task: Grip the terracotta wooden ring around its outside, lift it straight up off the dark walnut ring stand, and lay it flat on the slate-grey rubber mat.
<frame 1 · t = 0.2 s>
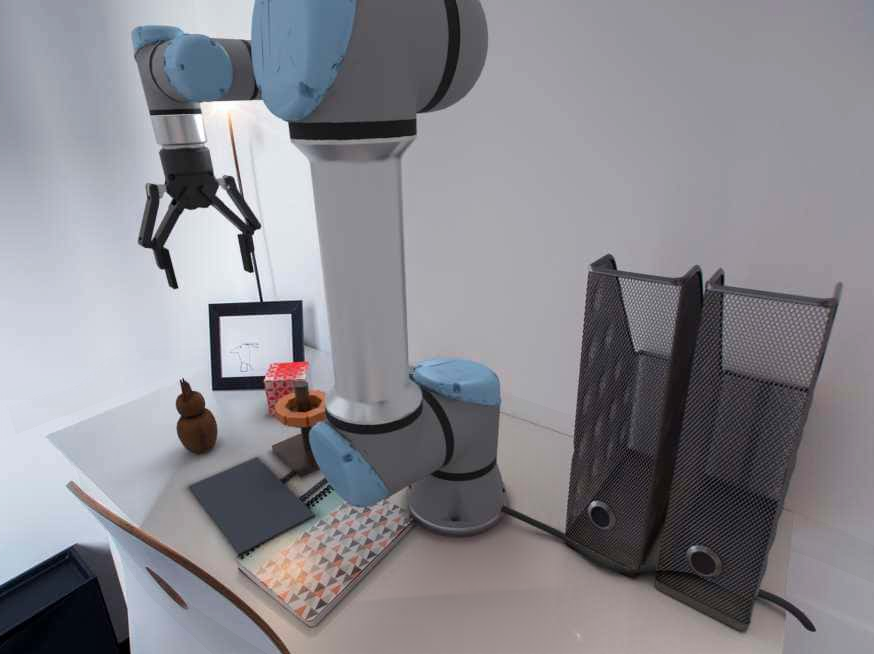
hand: (212, 279, 94), 28 cm above the table, tool pointing down, fingers open, 13 cm apart
red patterned cube: (293, 405, 110), on the table
ring stand: (311, 453, 94), on the table
mat: (249, 501, 83), on the table
wooden figurine: (203, 448, 97), on the table
ring: (305, 412, 90), point 8 cm above the table, touching ring stand
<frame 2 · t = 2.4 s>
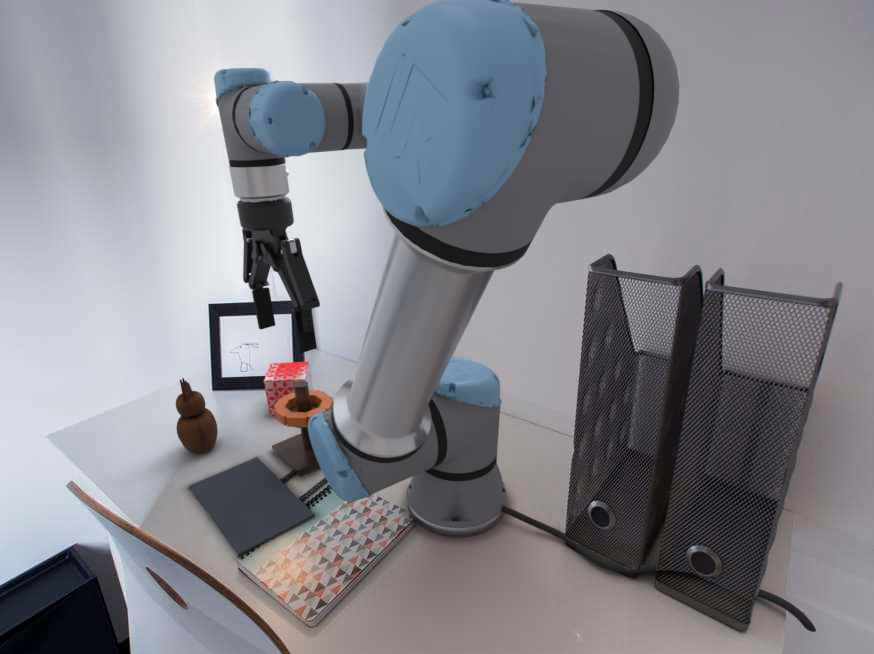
hand: (286, 338, 85), 22 cm above the table, tool pointing down, fingers open, 13 cm apart
nothing on the table moved.
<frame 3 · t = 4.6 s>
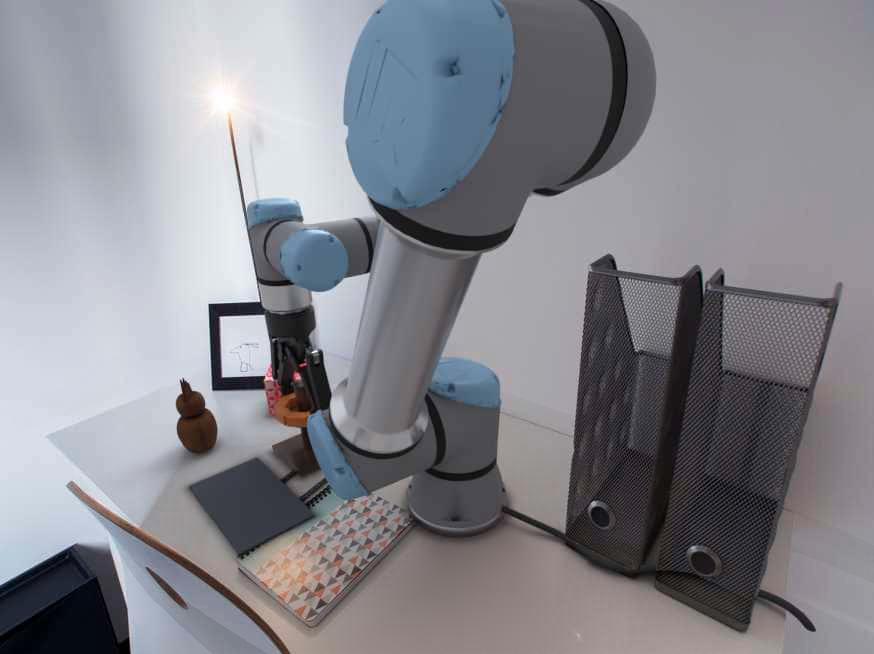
hand: (307, 429, 92), 5 cm above the table, tool pointing down, fingers closed on ring, 9 cm apart
ring: (305, 412, 90), point 9 cm above the table, touching gripper, ring stand
everything else where it was.
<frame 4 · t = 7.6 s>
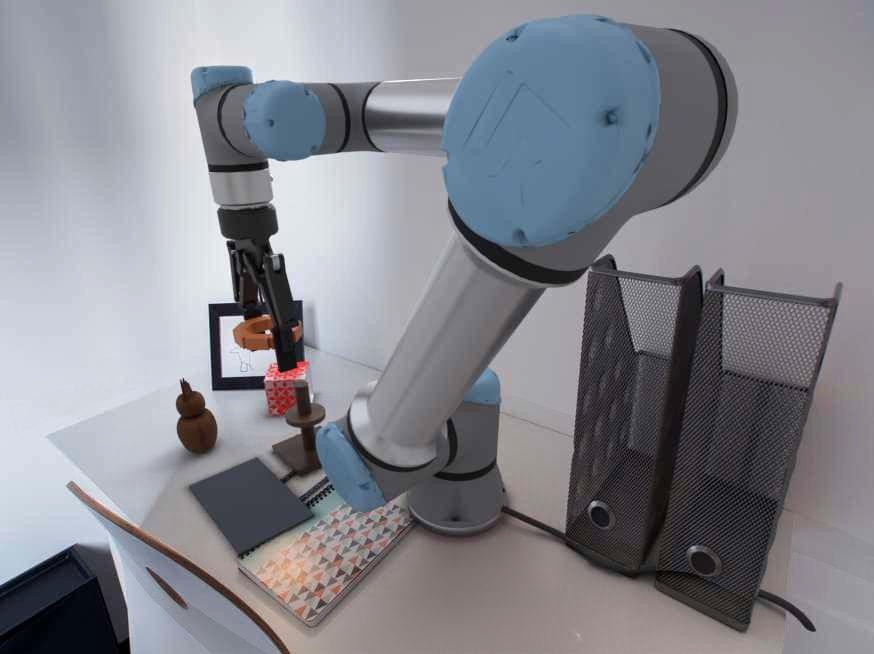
hand: (273, 358, 81), 21 cm above the table, tool pointing down, fingers closed on ring, 9 cm apart
ring: (269, 337, 79), point 24 cm above the table, touching gripper
everything else where it was.
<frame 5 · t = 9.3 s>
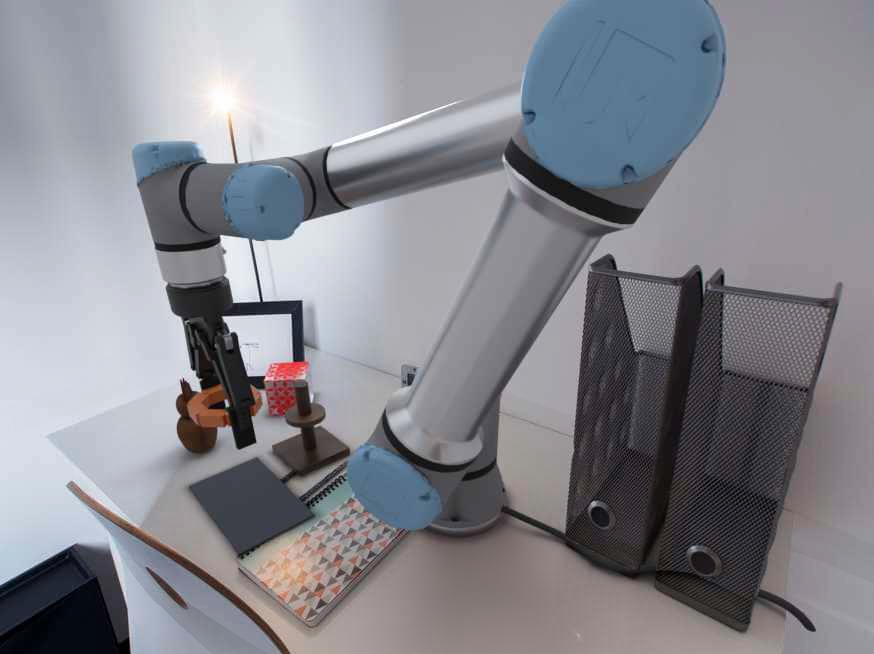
hand: (231, 430, 77), 13 cm above the table, tool pointing down, fingers closed on ring, 9 cm apart
ring: (227, 409, 75), point 17 cm above the table, touching gripper
everything else where it was.
when the fingers open (1 cm above the table, at t = 10.8 s): ring drops 5 cm, resting on mat.
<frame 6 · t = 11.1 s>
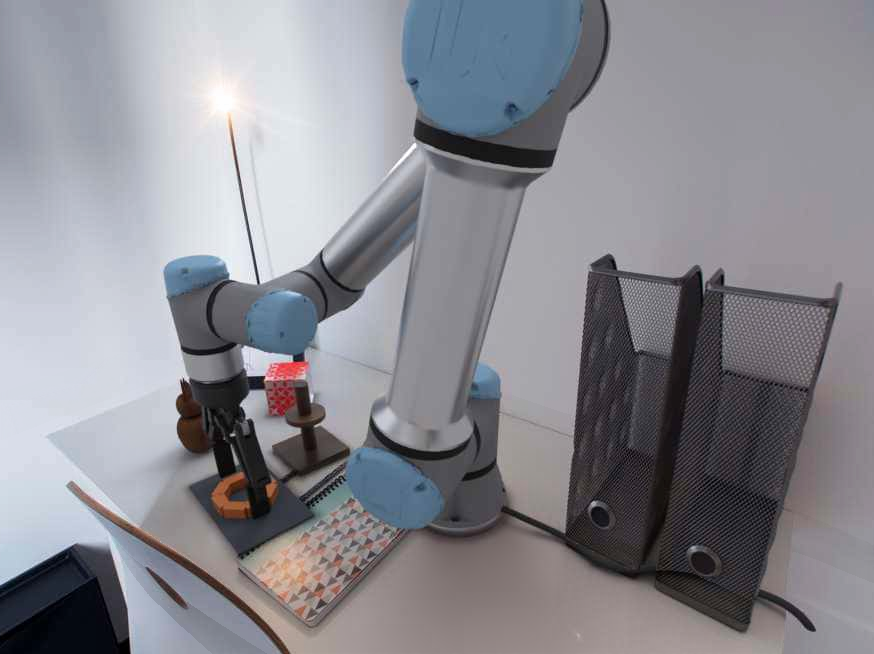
hand: (243, 493, 84), 1 cm above the table, tool pointing down, fingers open, 12 cm apart
ring: (246, 498, 83), resting on mat
everything else where it was.
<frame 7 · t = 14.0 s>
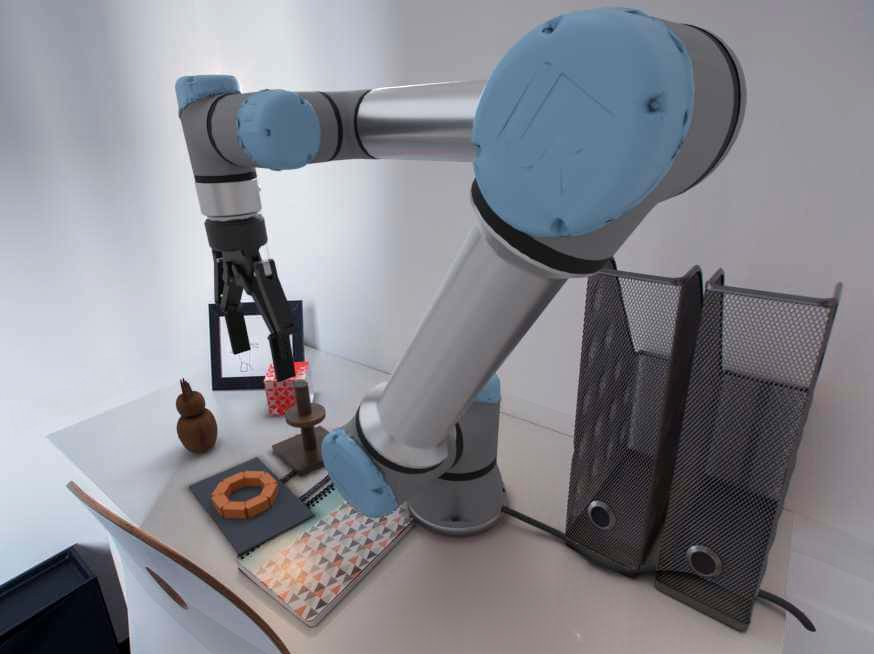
hand: (262, 364, 79), 21 cm above the table, tool pointing down, fingers open, 13 cm apart
nothing on the table moved.
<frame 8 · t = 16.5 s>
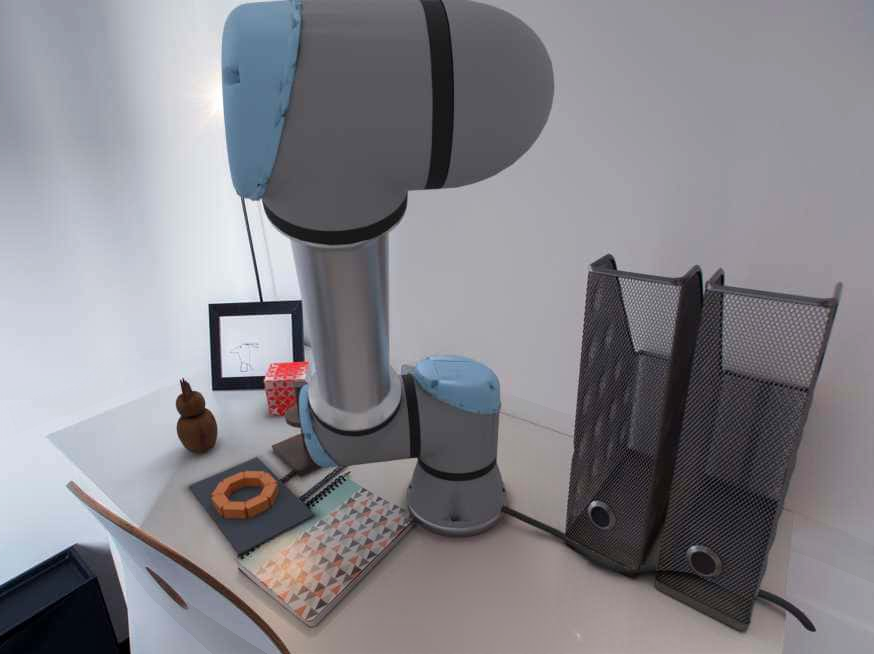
hand: (347, 284, 92), 27 cm above the table, tool pointing down, fingers open, 13 cm apart
nothing on the table moved.
at the end: ring inside the target area (0.5 cm from its centre), resting on mat; ring tilted 0°; the gripper is holding nothing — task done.
